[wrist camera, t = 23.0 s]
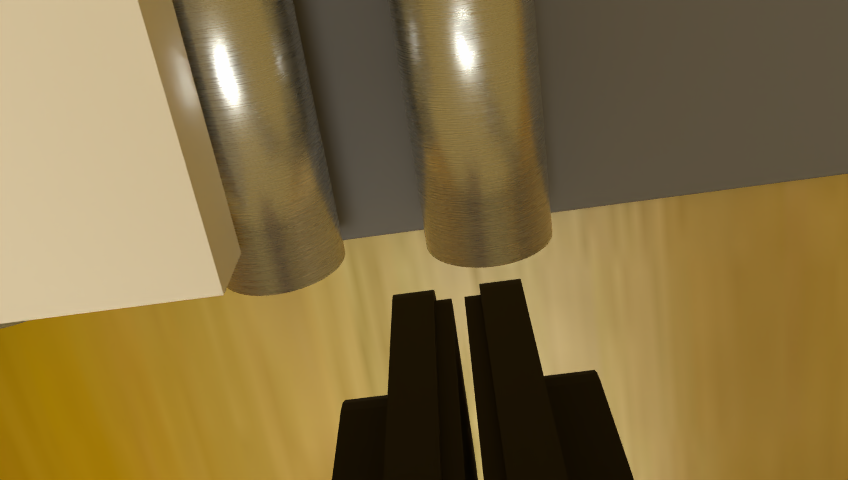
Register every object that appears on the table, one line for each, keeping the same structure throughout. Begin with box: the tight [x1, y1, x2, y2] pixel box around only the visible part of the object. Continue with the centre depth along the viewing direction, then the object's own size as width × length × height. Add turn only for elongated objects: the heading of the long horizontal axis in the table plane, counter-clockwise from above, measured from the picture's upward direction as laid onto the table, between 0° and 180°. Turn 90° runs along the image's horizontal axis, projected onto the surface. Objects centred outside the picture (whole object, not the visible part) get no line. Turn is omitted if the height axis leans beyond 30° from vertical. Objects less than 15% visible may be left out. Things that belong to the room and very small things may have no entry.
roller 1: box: [172, 0, 345, 296], centre depth 29 cm, size 16×5×5 cm, turn 8°
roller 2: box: [388, 0, 552, 267], centre depth 29 cm, size 16×5×5 cm, turn 8°
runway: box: [293, 0, 848, 240], centre depth 28 cm, size 21×48×8 cm, turn 98°
